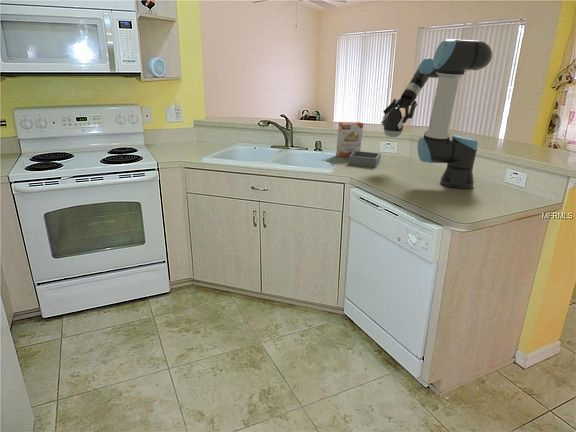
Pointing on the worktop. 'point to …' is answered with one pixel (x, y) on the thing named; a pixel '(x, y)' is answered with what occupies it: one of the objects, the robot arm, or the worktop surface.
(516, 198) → the worktop surface
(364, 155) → the drying tray
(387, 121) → the dark rounded piece
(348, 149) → the cracker box
